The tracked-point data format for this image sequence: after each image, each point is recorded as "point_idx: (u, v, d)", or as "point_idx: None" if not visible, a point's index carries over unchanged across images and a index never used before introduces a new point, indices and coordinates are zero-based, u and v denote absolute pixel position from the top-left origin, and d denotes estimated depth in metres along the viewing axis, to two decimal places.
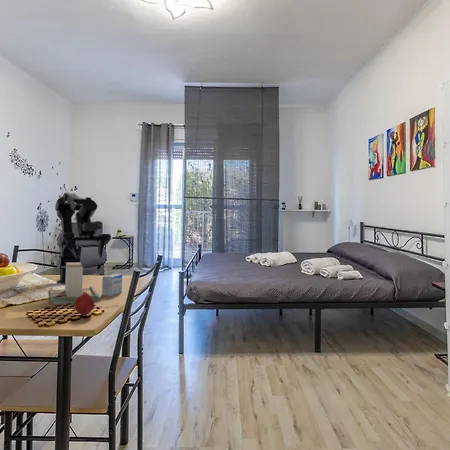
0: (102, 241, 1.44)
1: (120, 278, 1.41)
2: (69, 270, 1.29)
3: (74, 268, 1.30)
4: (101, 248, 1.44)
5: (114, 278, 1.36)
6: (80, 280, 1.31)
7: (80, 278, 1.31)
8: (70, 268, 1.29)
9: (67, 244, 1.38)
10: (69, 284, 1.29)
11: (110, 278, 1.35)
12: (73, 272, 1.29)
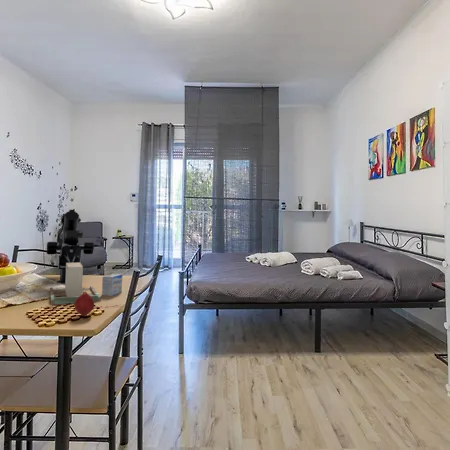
0: (74, 249, 1.51)
1: (120, 278, 1.41)
2: (69, 270, 1.29)
3: (74, 268, 1.30)
4: (72, 255, 1.50)
5: (114, 278, 1.36)
6: (80, 280, 1.31)
7: (80, 278, 1.31)
8: (70, 268, 1.29)
9: (63, 252, 1.51)
10: (69, 284, 1.29)
11: (110, 278, 1.35)
12: (73, 272, 1.29)
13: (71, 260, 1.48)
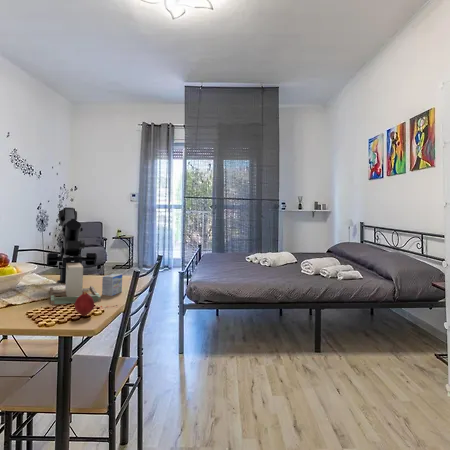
0: (75, 260, 1.43)
1: (120, 278, 1.41)
2: (69, 270, 1.28)
3: (74, 268, 1.29)
4: None
5: (114, 278, 1.36)
6: (80, 280, 1.30)
7: (80, 278, 1.30)
8: (70, 268, 1.28)
9: (64, 264, 1.43)
10: (69, 284, 1.28)
11: (110, 278, 1.35)
12: (73, 272, 1.29)
13: None
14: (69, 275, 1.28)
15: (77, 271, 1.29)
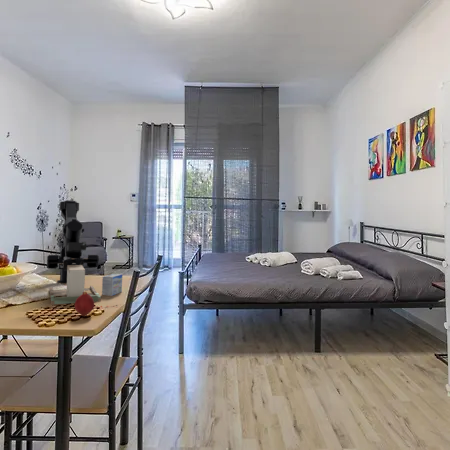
0: (77, 262, 1.37)
1: (120, 278, 1.41)
2: (71, 273, 1.23)
3: (76, 271, 1.23)
4: None
5: (114, 278, 1.36)
6: (82, 284, 1.25)
7: (82, 281, 1.25)
8: (72, 271, 1.23)
9: (65, 266, 1.38)
10: (71, 288, 1.23)
11: (110, 278, 1.35)
12: (75, 275, 1.23)
13: None
14: (70, 278, 1.23)
15: (79, 274, 1.24)
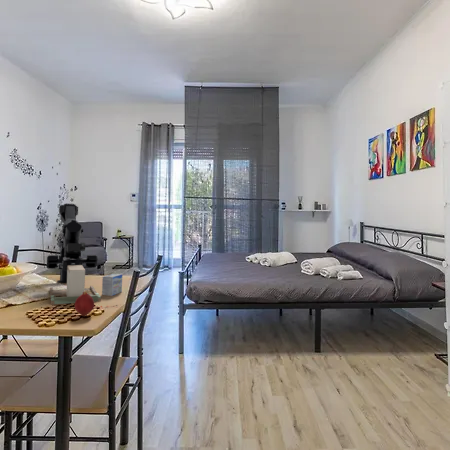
0: (76, 263, 1.40)
1: (120, 278, 1.41)
2: (71, 273, 1.22)
3: (76, 271, 1.23)
4: None
5: (114, 278, 1.36)
6: (82, 284, 1.24)
7: (82, 282, 1.24)
8: (72, 271, 1.22)
9: (64, 267, 1.41)
10: (71, 288, 1.23)
11: (110, 278, 1.35)
12: (75, 275, 1.23)
13: None
14: (70, 278, 1.22)
15: (79, 274, 1.24)
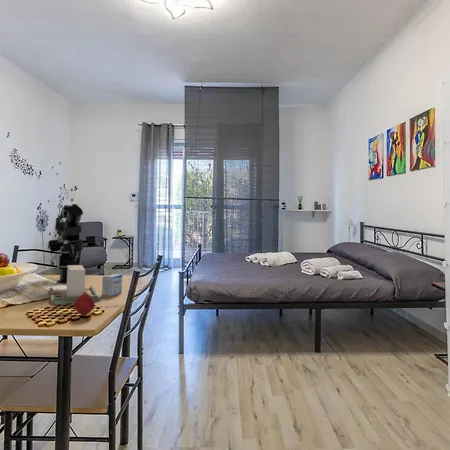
0: (75, 245, 1.49)
1: (120, 278, 1.41)
2: (71, 273, 1.22)
3: (76, 271, 1.23)
4: (75, 252, 1.48)
5: (114, 278, 1.36)
6: (82, 284, 1.24)
7: (82, 282, 1.24)
8: (72, 271, 1.22)
9: (66, 249, 1.50)
10: (71, 288, 1.23)
11: (110, 278, 1.35)
12: (75, 275, 1.23)
13: (74, 257, 1.47)
14: (70, 278, 1.22)
15: (79, 274, 1.24)
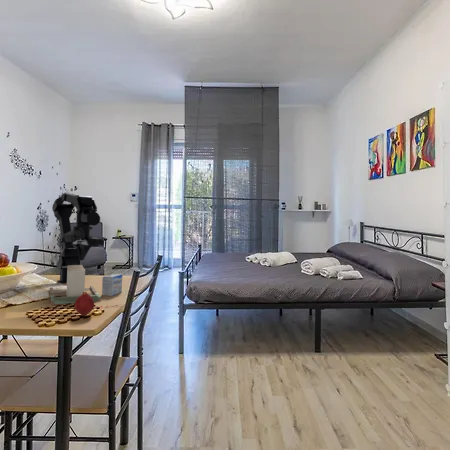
0: (80, 246, 1.50)
1: (120, 278, 1.41)
2: (71, 273, 1.22)
3: (76, 271, 1.23)
4: (81, 252, 1.51)
5: (114, 278, 1.36)
6: (82, 284, 1.24)
7: (82, 282, 1.24)
8: (72, 271, 1.22)
9: None
10: (71, 288, 1.23)
11: (110, 278, 1.35)
12: (75, 275, 1.23)
13: (80, 257, 1.52)
14: (70, 278, 1.22)
15: (79, 274, 1.24)
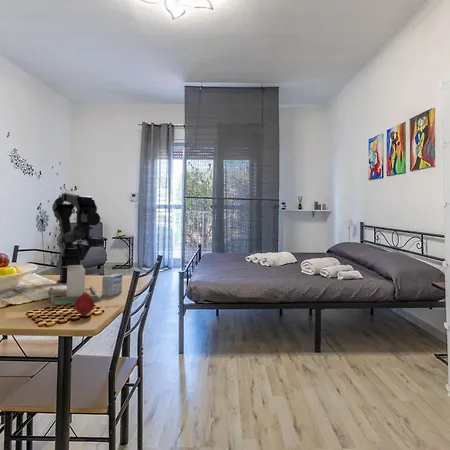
0: (80, 246, 1.50)
1: (120, 278, 1.41)
2: (71, 273, 1.22)
3: (76, 271, 1.23)
4: (81, 252, 1.51)
5: (114, 278, 1.36)
6: (82, 284, 1.24)
7: (82, 282, 1.24)
8: (72, 271, 1.22)
9: None
10: (71, 288, 1.23)
11: (110, 278, 1.35)
12: (75, 275, 1.23)
13: (80, 257, 1.52)
14: (70, 278, 1.22)
15: (79, 274, 1.24)
